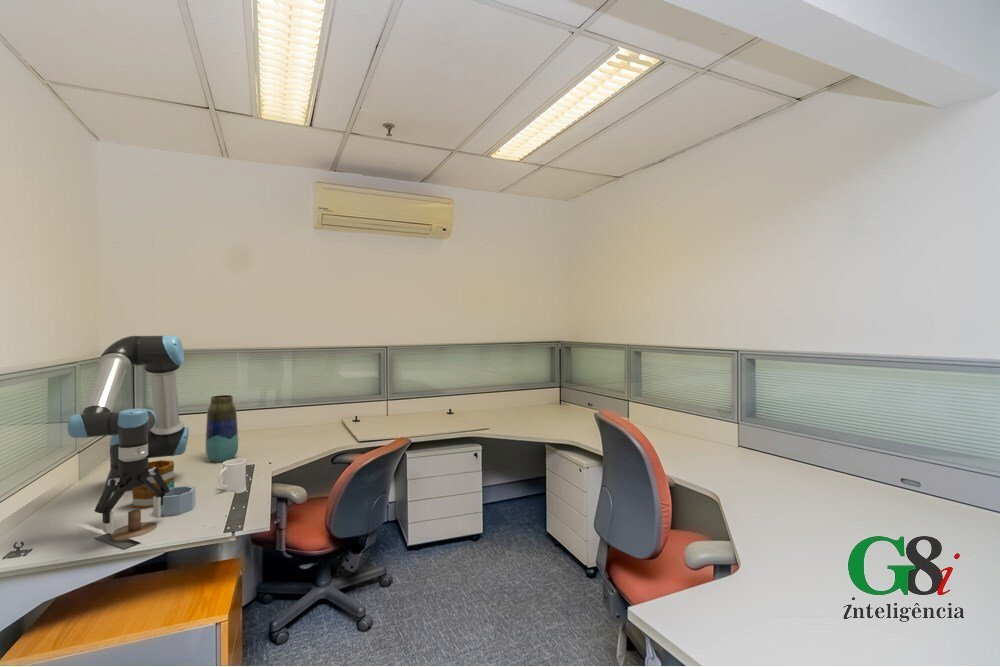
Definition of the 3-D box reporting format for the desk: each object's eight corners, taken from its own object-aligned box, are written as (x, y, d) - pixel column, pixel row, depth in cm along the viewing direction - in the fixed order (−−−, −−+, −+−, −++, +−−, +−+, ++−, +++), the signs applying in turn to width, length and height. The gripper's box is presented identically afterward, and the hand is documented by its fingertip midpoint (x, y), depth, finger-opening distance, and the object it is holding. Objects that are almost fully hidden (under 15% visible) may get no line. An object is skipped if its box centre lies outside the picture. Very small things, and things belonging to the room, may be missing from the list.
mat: (94, 538, 148) (94, 537, 148) (143, 521, 160) (143, 520, 160) (123, 549, 141) (123, 548, 141) (172, 530, 154) (172, 529, 154)
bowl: (151, 516, 165) (151, 493, 165) (182, 505, 174) (182, 484, 174) (170, 522, 160) (170, 498, 160) (201, 510, 170) (200, 488, 170)
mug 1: (167, 510, 170) (167, 469, 169) (123, 514, 166) (122, 472, 165) (186, 491, 188) (186, 454, 188) (147, 494, 185) (146, 457, 184)
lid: (103, 537, 148) (102, 514, 148) (143, 523, 158) (143, 502, 158) (124, 545, 143) (124, 521, 143) (164, 529, 154) (164, 508, 153)
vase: (203, 465, 222) (202, 399, 221) (208, 457, 235) (207, 395, 234) (236, 462, 228) (236, 397, 227) (239, 454, 240) (239, 393, 239)
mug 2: (225, 499, 181) (224, 468, 181) (209, 495, 184) (209, 465, 184) (251, 489, 192) (251, 459, 192) (236, 486, 195) (236, 457, 195)
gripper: (93, 471, 137) (94, 543, 138) (181, 450, 160) (181, 511, 160) (79, 467, 140) (80, 537, 141) (167, 447, 163) (168, 508, 163)
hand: (134, 524), depth 151 cm, fingers open, 13 cm apart
